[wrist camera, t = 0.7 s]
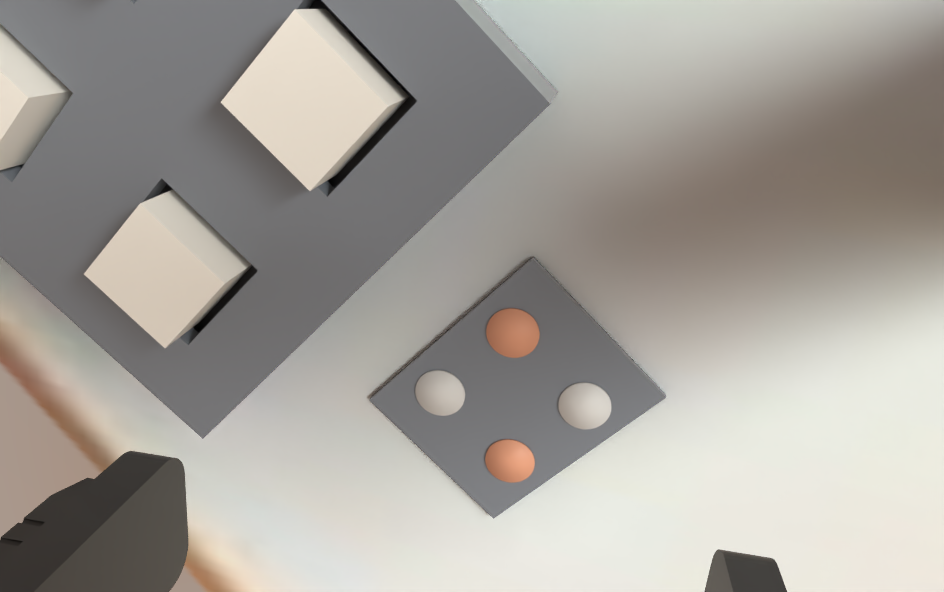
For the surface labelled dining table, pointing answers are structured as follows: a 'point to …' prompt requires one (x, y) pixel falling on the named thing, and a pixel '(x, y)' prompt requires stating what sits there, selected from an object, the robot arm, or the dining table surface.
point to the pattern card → (517, 390)
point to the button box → (243, 168)
